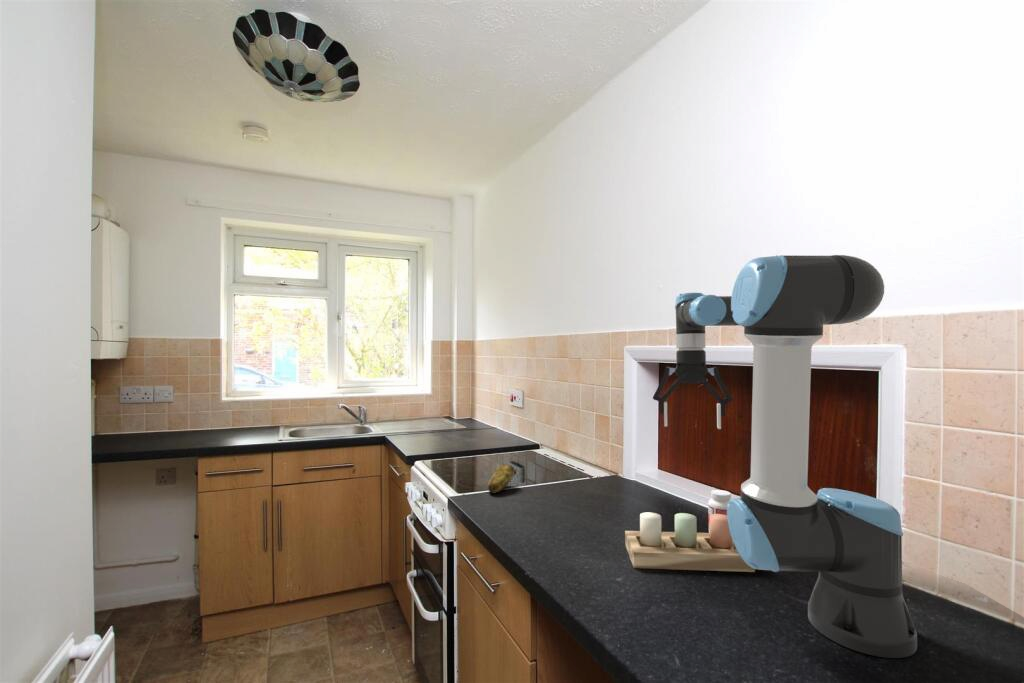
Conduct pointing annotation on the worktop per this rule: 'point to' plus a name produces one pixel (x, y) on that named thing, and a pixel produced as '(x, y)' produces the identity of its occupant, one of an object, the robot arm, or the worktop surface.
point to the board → (683, 554)
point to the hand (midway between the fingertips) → (692, 427)
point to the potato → (500, 478)
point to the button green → (685, 530)
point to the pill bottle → (718, 503)
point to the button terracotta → (720, 531)
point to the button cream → (650, 529)
